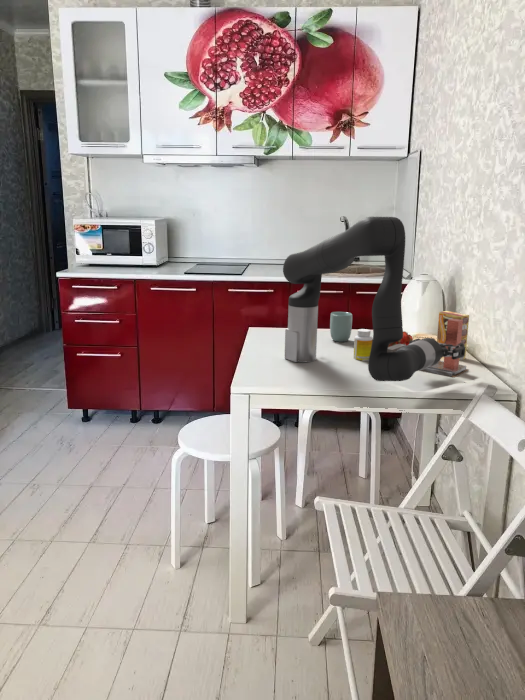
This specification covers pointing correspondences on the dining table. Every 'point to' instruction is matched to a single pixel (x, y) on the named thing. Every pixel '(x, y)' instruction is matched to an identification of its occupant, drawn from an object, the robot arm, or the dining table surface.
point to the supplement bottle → (362, 345)
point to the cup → (340, 326)
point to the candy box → (442, 327)
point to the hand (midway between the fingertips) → (447, 344)
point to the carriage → (453, 338)
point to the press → (398, 346)
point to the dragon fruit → (403, 340)
